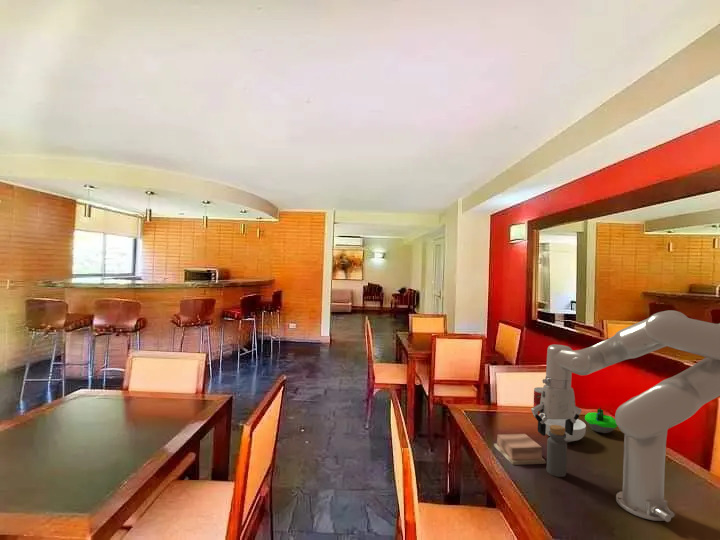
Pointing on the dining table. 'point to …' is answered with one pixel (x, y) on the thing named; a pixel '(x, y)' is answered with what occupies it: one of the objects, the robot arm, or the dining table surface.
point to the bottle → (557, 451)
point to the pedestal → (519, 449)
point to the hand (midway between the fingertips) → (555, 433)
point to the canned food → (537, 396)
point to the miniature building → (600, 421)
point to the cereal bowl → (578, 427)
